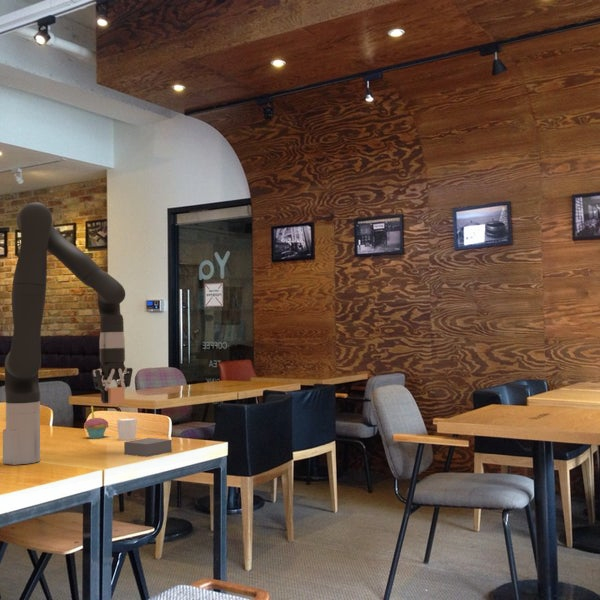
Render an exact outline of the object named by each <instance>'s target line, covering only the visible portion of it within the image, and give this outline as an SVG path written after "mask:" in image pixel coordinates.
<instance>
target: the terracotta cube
mask: <svg viewBox="0 0 600 600" xmlns="http://www.w3.org/2000/svg"><path fill="white" fill-rule="evenodd" d="M107 391H108V403H103V402H102V401H101V400H100V405H110V406H112V405H122V404H125V403H126V401H125V399H126V398H125V389H124V387H117V386H109V388H108V390H107Z"/></svg>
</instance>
